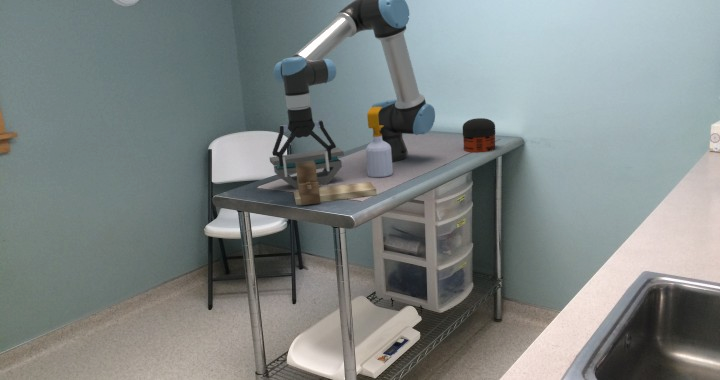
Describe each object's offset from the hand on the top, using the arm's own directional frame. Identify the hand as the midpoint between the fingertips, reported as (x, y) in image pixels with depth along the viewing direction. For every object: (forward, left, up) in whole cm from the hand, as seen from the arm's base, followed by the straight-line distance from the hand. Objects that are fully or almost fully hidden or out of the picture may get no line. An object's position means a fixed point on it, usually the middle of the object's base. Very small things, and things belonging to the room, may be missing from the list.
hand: (307, 173), depth 200 cm
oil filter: (-74, -43, -9) cm, 86 cm away
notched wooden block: (0, +3, -8) cm, 9 cm away
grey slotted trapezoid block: (-2, -20, -9) cm, 22 cm away
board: (-8, 0, -9) cm, 12 cm away
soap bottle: (-28, -21, -9) cm, 36 cm away
